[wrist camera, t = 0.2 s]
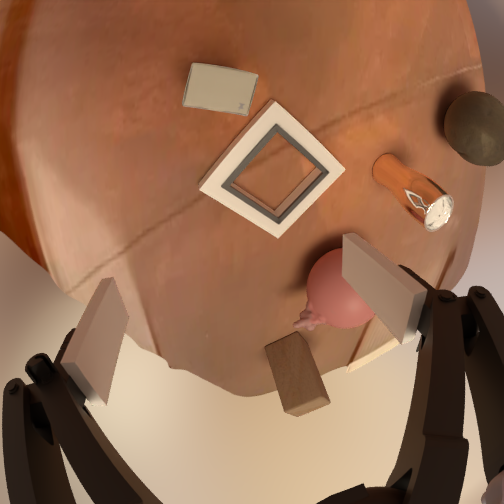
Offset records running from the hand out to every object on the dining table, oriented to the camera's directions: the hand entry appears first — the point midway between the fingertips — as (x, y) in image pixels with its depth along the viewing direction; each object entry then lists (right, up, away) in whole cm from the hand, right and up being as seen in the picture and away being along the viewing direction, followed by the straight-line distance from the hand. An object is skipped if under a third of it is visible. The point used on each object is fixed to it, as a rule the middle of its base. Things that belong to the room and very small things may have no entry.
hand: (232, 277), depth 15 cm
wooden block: (+11, -25, +60) cm, 66 cm away
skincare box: (-4, +23, +15) cm, 28 cm away
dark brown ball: (+40, +29, +24) cm, 55 cm away
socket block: (+4, +13, +26) cm, 29 cm away
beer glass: (+25, +16, +30) cm, 42 cm away
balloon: (+15, -2, +42) cm, 45 cm away
